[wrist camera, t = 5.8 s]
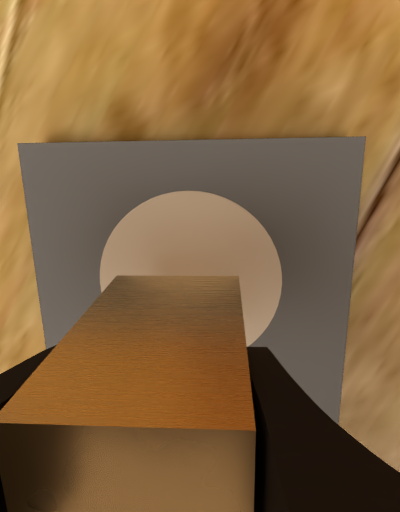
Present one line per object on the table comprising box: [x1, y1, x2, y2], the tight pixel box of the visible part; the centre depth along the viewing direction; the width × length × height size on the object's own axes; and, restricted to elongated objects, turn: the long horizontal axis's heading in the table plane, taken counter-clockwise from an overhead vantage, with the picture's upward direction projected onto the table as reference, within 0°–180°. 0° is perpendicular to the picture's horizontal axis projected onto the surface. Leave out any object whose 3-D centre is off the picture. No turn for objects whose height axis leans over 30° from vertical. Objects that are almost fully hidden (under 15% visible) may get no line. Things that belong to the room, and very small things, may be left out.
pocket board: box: [17, 137, 366, 424], centre depth 19 cm, size 14×24×3 cm, turn 1°
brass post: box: [0, 275, 256, 512], centre depth 10 cm, size 4×4×7 cm
